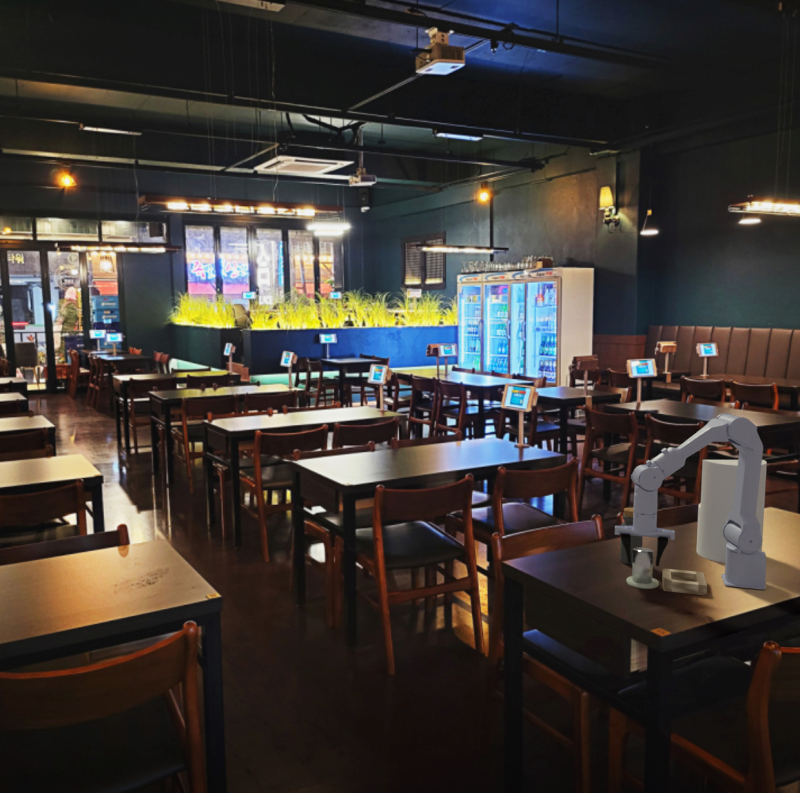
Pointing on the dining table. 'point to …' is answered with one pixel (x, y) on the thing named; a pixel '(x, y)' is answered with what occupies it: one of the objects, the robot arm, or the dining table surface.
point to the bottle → (635, 540)
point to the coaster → (644, 586)
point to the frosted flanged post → (642, 565)
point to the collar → (684, 581)
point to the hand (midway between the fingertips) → (643, 563)
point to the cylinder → (721, 506)
